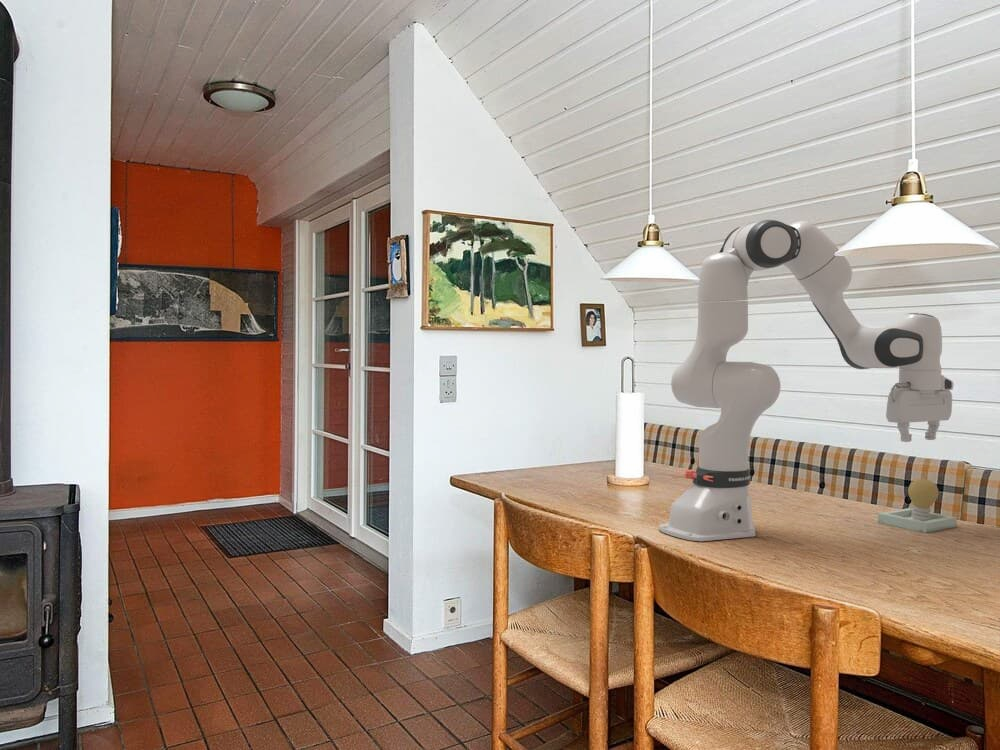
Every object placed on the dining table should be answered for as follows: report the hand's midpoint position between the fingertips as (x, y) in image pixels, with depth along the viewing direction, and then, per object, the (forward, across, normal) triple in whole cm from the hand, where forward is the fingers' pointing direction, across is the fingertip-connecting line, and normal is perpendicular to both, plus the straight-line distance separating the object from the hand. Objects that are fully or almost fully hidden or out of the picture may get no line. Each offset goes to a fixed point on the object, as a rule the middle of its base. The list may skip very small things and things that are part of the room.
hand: (918, 440), depth 183 cm
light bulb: (+19, +2, 0) cm, 19 cm away
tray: (+20, 0, 0) cm, 20 cm away
